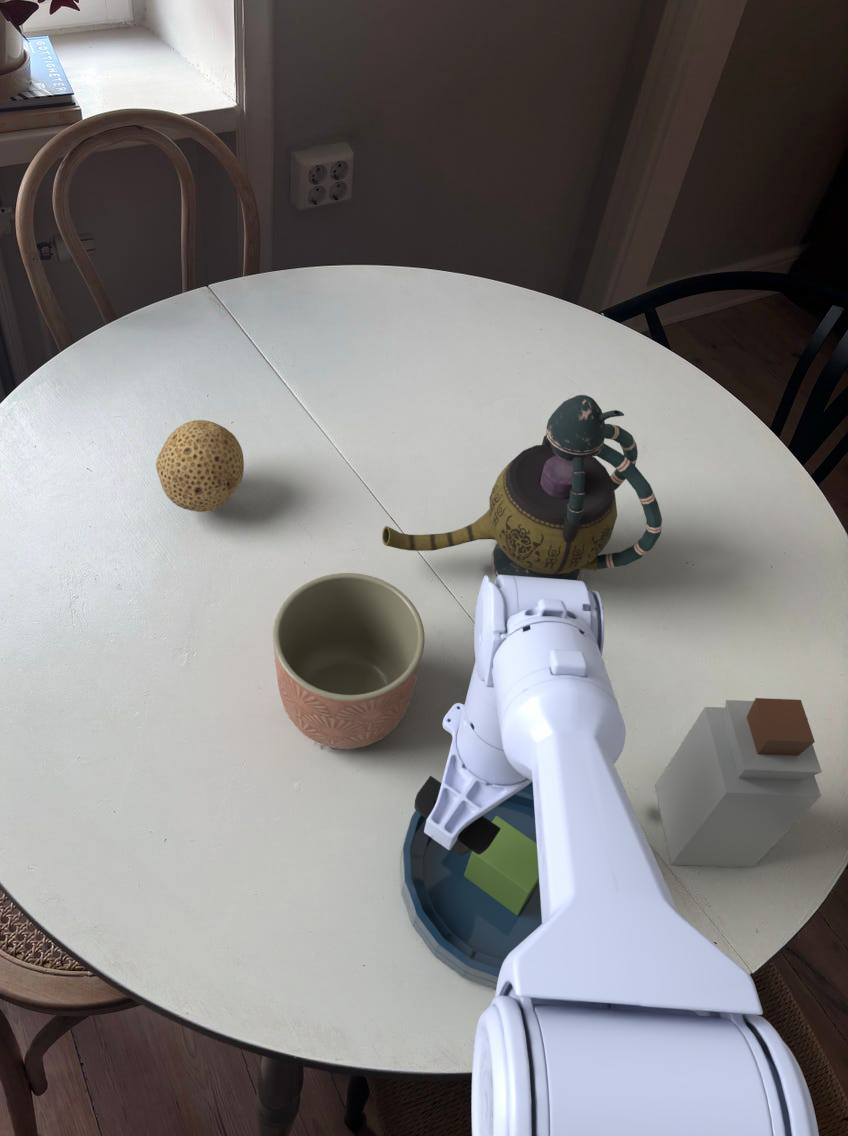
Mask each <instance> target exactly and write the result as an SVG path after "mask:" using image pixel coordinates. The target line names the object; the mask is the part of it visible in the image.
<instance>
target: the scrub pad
mask: <svg viewBox="0 0 848 1136" xmlns="http://www.w3.org/2000/svg"><path fill="white" fill-rule="evenodd" d="M492 823H494V824H495V825H497V826H498V827H500V828H501V829H500V831H499V833H498V834H497V836H496V837H495V839H494V840H493V842H492V843H491V845H490V846H489V847H488V849H487V850H485V851H484V852H483V853H481V854H476V853H474V852H473V851H472V853H471V856H470V859H469V862H468V865H467V868H466V871H465V874H464V877H466V878H467V879H468V880H470V881H471V882H473V883H474V884H475V885H477V886H478V887H479V888H481V889H482V890H483V891H485V892H486V893H487V894H489V895H490V896H491V897H493V898H494V899H496V900H497V901H498V902H500V903H501V904H502V905H504V906H505V907H506V908H508V909H509V910H510V911H512V912H513V913H514V914H516V915H517V916H518V915H519V914H520V912H521V910H522V909H523V907H524V906H525V904H526V902H527V901H528V899H529V897H530V896H531V894H532V892H533V891H534V889H535V888H536V886H537V884H538V883H539V869H538V854H537V843H535V842H534V841H532V840H531V839H530V838H528V837H527V836H525V835H524V834H522V833H521V832H520V831H518V830H517V829H515V828H514V827H512V826H511V825H510V824H508V823H507V822H505V821H504V820H502V819H501V818H500V817H498V816H496V817H495V818H494V820H493V821H492Z"/></svg>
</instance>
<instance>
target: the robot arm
mask: <svg viewBox="0 0 848 1136" xmlns="http://www.w3.org/2000/svg"><path fill="white" fill-rule="evenodd" d="M475 606H476V607H475V612H474V613H475V615H474V629H473V630H474V631H473V646H474V647H473V648H474V657H475V661H474V665H473V670H472V673H471V678H470V680H469V681H470V682H469V685H468V689H467V694H466V696H465V697H466V698H465V701H464V704H463V703H461V702H457V703H454V704H453V705H452V706H451V707H450V709H449V710H448V711H447V713H446V714H445V716H444V717H443V720H442V724H441V725H442V728H443V729H444V730H445V731H446V732H447V733H449V734H450V735H451V738H452V740H451V745H450V749H449V752H448V756H447V760H446V763H445V764H446V765H445V768H444V771H443V776H442V780H441V782H440V781H439V780H438V779H436V778H435V777H433V776H432V775H429V776H428V778H427V780H426V781H425V782H424V784H423V785H422V786H421V787H420V789H419V790H418V791H417V793H416V796H415V800H414V810H415V811H417V812H418V813H420V814H421V815H422V816H424V817H425V818H426V819H427V821H426V825H425V829H424V833H426V834H427V835H428V836H430V837H431V838H432V839H434V840H435V841H436V842H438V843H439V844H441V845H442V846H444V847H445V848H446V849H448V850H453V851H454V852H455V853H457V854H458V855H459V856H462V855H464V854H466V853H467V852H469V851H470V850H471V851H473V852H474V853H476V854H481V853H483V852H484V851H485V850H487V849H488V847H489V846H490V845H491V843H492V842H493V840H494V839H495V837H496V836H497V834H498V833H499V831H500V829H501V828H500V827H498V826H497V825H495V824H494V823H492V822H491V821H490V820H488V819H487V818H485V817H484V816H482V815H484V814H485V813H487V812H488V811H490V810H491V809H493V808H494V807H496V806H497V805H499V804H500V803H502V802H503V801H505V800H506V799H508V798H509V797H511V796H512V795H514V794H515V793H517V792H518V791H520V790H521V789H523V788H524V787H526V786H527V785H529V784H530V783H531V782H532V781H533V794H534V809H535V824H536V839H537V854H538V869H539V884H540V899H541V914H542V924H541V925H540V926H539V927H538V928H537V929H536V930H535V931H534V932H532V933H531V934H530V935H529V936H528V937H527V938H526V939H525V940H523V941H522V942H521V943H520V944H519V945H518V946H517V947H516V948H514V949H513V950H512V951H511V952H510V953H509V954H508V956H507V957H506V959H505V960H504V962H503V964H502V967H501V970H500V973H499V977H498V982H497V988H496V989H495V995H494V998H492V1001H491V1002H490V1005H489V1006H488V1007H487V1008H486V1009H485V1010H484V1011H483V1012H482V1013H481V1015H480V1016H479V1018H478V1020H477V1025H476V1030H475V1037H474V1043H473V1053H472V1067H471V1068H472V1071H471V1136H820V1133H819V1127H818V1122H817V1118H816V1117H817V1116H816V1113H815V1108H814V1104H813V1100H812V1097H811V1093H810V1090H809V1087H808V1084H807V1081H806V1079H805V1077H804V1073H803V1071H802V1069H801V1067H800V1064H799V1063H798V1061H797V1059H796V1057H795V1055H794V1053H793V1052H792V1050H791V1049H790V1048H789V1045H787V1043H786V1042H785V1041H784V1040H783V1038H782V1037H781V1036H780V1034H779V1032H778V1031H777V1030H776V1028H775V1027H773V1025H772V1024H771V1022H769V1021H768V1020H767V1019H766V1018H764V1017H763V1016H762V1015H763V1014H764V1011H763V1008H762V1005H761V1001H760V997H759V994H758V991H757V988H756V985H755V982H754V979H753V978H752V976H751V975H750V973H749V972H748V971H747V970H746V969H745V968H744V967H742V965H740V964H739V963H738V962H736V961H735V960H734V959H733V958H732V957H731V956H729V955H728V954H727V953H726V952H725V951H724V950H722V948H720V946H718V945H716V944H715V943H714V942H713V941H712V940H711V939H710V938H709V937H707V936H706V935H704V933H702V932H701V931H700V929H698V928H697V927H695V926H694V925H693V924H691V922H690V921H688V920H687V919H685V918H684V916H682V915H681V914H680V912H679V910H678V907H677V905H676V903H675V901H674V898H673V895H672V894H671V891H670V889H669V887H668V884H667V882H666V880H665V877H664V876H663V873H662V871H661V868H660V866H659V864H658V862H657V859H656V857H655V855H654V852H653V850H652V848H651V846H650V843H649V841H648V839H647V836H646V834H645V832H644V830H643V827H642V825H641V823H640V821H639V819H638V816H637V813H636V812H635V809H634V807H633V805H632V803H631V800H630V797H629V796H628V793H627V791H626V789H625V787H624V784H623V782H622V779H621V777H620V775H619V773H618V771H617V769H616V766H615V764H616V763H617V762H618V760H619V758H620V756H621V754H622V752H623V750H624V747H625V743H626V736H627V729H626V724H625V720H624V718H623V714H622V712H621V709H620V706H619V703H618V700H617V697H616V694H615V692H614V688H613V686H612V682H611V679H610V676H609V674H608V671H607V668H606V666H605V665H606V664H605V662H604V659H603V650H604V643H605V612H604V606H603V601H602V598H601V595H600V594H599V592H598V591H597V590H591V591H589V590H588V587H587V584H586V583H585V581H583V580H578V581H577V580H564V579H551V578H537V577H523V576H509V575H498V576H497V577H495V580H494V582H493V581H491V579H490V576H488V575H487V574H486V575H484V576H483V579H482V581H481V584H480V587H479V592H478V595H477V599H476V605H475Z"/></svg>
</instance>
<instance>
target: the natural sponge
mask: <svg viewBox="0 0 848 1136" xmlns="http://www.w3.org/2000/svg"><path fill="white" fill-rule="evenodd" d="M155 468H156V472H157V475H158V479H159V482H160V485H161V488H162V490H163V492H164V494H165V496H166V497H167V498H168V499H169V500H170V501H171V502H172V503H173V504H174V505H176V506H177V507H180V508H182V509H184V510H188V511H191V512H199V513H207V512H212V511H214V510H217V509H218V508H220V507H222V506H223V505H224V504H225V503H226V502H227V501H228V500H229V499H230V498H231V497H232V495H234V493H235V492H236V490H237V489H238V488H239V487H240V485H241V483H242V480H243V479H244V478H243V477H244V472H245V471H244V470H245V460H244V453H243V448H242V446H241V444H240V442H239V440H238V438H237V437H236V436H235V435H234V433H232V432H231V431H230V430H229V429H227V428H226V427H224V426H223V425H220V424H218V423H216V422H213V421H211V420H203V419H197V420H190V421H187V422H185V423H183V424H181V425H180V426H178V427H176V428H175V429H174V430H173V431H172V432H171V433H170V435H169V436H168V437H167V438H166V440H165V442H164V444H163V445H162V448H161V450H160V452H159V453H158V456H157V458H156V461H155Z"/></svg>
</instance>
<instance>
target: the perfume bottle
mask: <svg viewBox="0 0 848 1136" xmlns="http://www.w3.org/2000/svg"><path fill="white" fill-rule="evenodd" d="M815 741H816V740H815V738H814V735H813V732H812V729H811V725H810V723H809V721H808V717H807V713H806V711H805V708H804V705H803V702H802V699H794V698H792V699H791V698H790V699H789V698H764V697H755V698H754V700H737V699H735V700H734V699H725V704H724V707H720V706H704V707H703V709H702V711H701V712H700V714H699V715H698V717H697V718H696V720H695V722H694V723H693V724H692V726H691V728H690V730H688V733H687V734H686V736H685V737H684V739H683V741H682V742H681V743H680V745H679V746H678V748H677V749H676V751H675V753H674V755H673V756H672V757H671V759H670V761H669V763H667V766H666V767H665V768H664V770H663V772H662V774H661V775H660V776H659V778H658V779H657V781H656V782H655V784H654V789H655V793H656V798H657V804H658V809H659V813H660V818H661V823H662V829H663V834H664V837H665V843H666V849H667V854H668V858H669V863H670V865H674V866H699V867H701V866H704V867H729V868H731V867H733V868H734V867H735V868H754V867H755V866H756V865H757V864H758V863H759V862H760V861H761V859H763V858H764V856H765V855H767V853H769V851H770V850H771V849H773V847H774V846H775V845H776V844H777V843H778V842H779V841H780V839H781V838H783V836H784V835H785V834H787V832H788V831H790V829H791V828H792V827H793V826H794V825H796V823H797V822H798V821H799V820H800V819H801V818H802V817H803V816H804V814H806V812H807V811H808V810H809V809H810V808H811V807H812V806H813V805H814V804H816V802H818V801H819V799H820V798H821V797H822V794H821V791H820V788H819V785H818V782H817V779H816V775H818V774H821V773H823V771H822V768H821V765H820V762H819V760H818V756H817V753H816V750H815V747H814V745H813V744H814V743H816V742H815Z"/></svg>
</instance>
